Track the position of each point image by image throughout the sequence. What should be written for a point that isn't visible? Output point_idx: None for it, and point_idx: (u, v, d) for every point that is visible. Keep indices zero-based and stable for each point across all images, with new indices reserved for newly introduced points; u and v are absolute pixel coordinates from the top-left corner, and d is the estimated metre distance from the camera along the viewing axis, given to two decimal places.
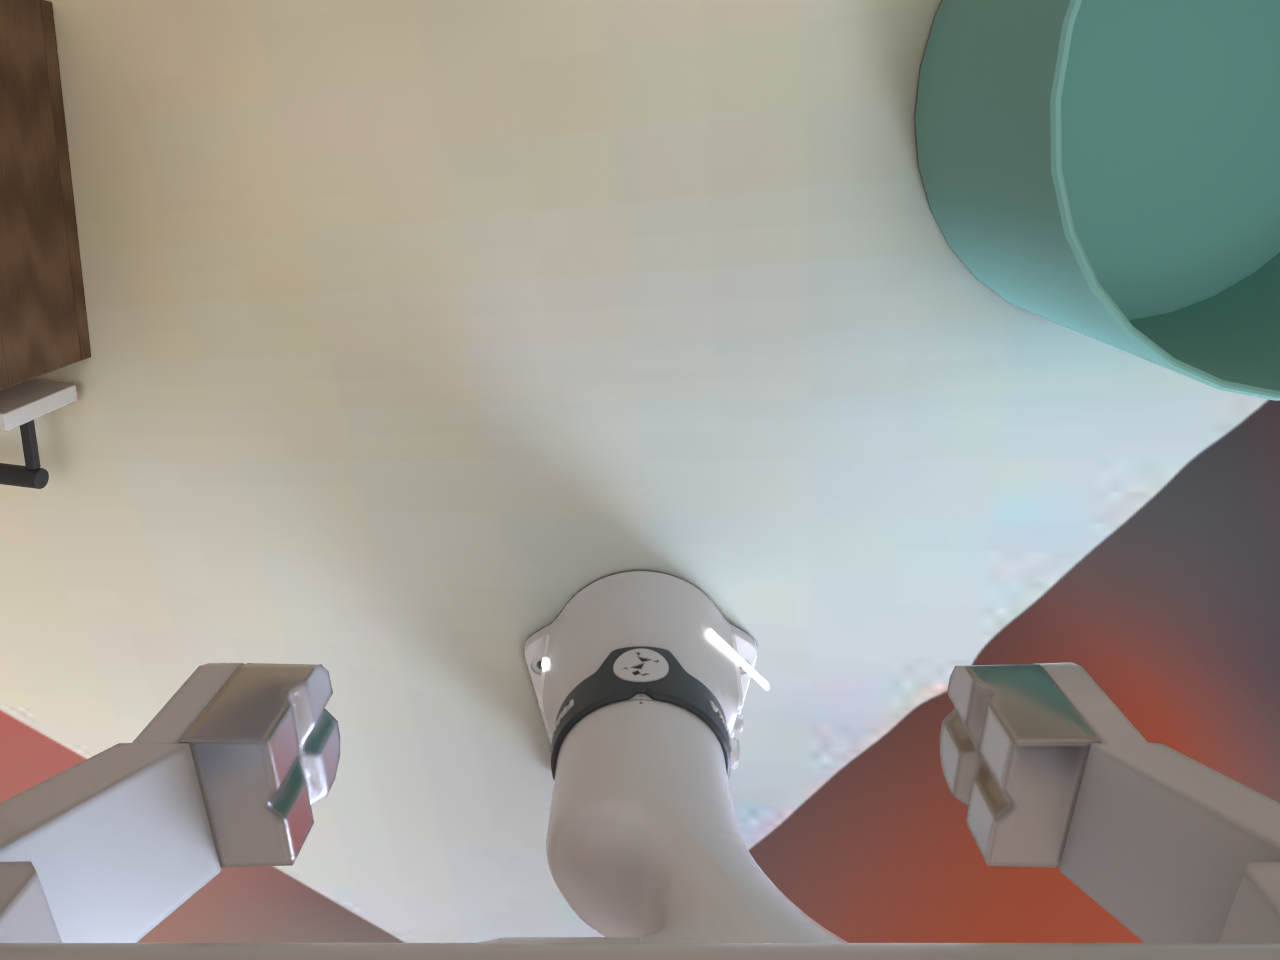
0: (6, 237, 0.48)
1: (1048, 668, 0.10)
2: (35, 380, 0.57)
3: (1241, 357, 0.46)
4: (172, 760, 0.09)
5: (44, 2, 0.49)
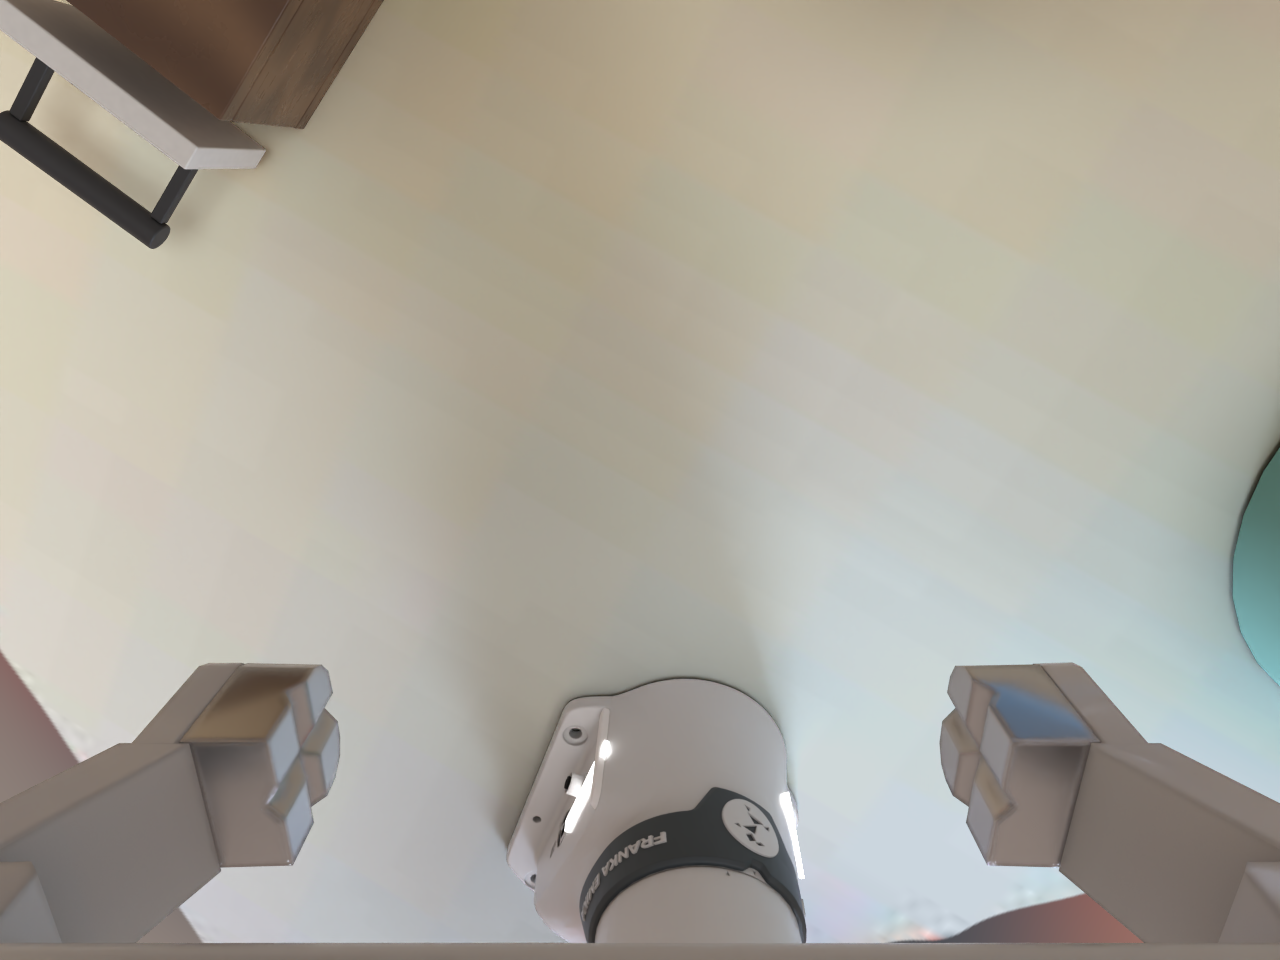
0: None
1: (1048, 667, 0.10)
2: None
3: None
4: (172, 760, 0.09)
5: None
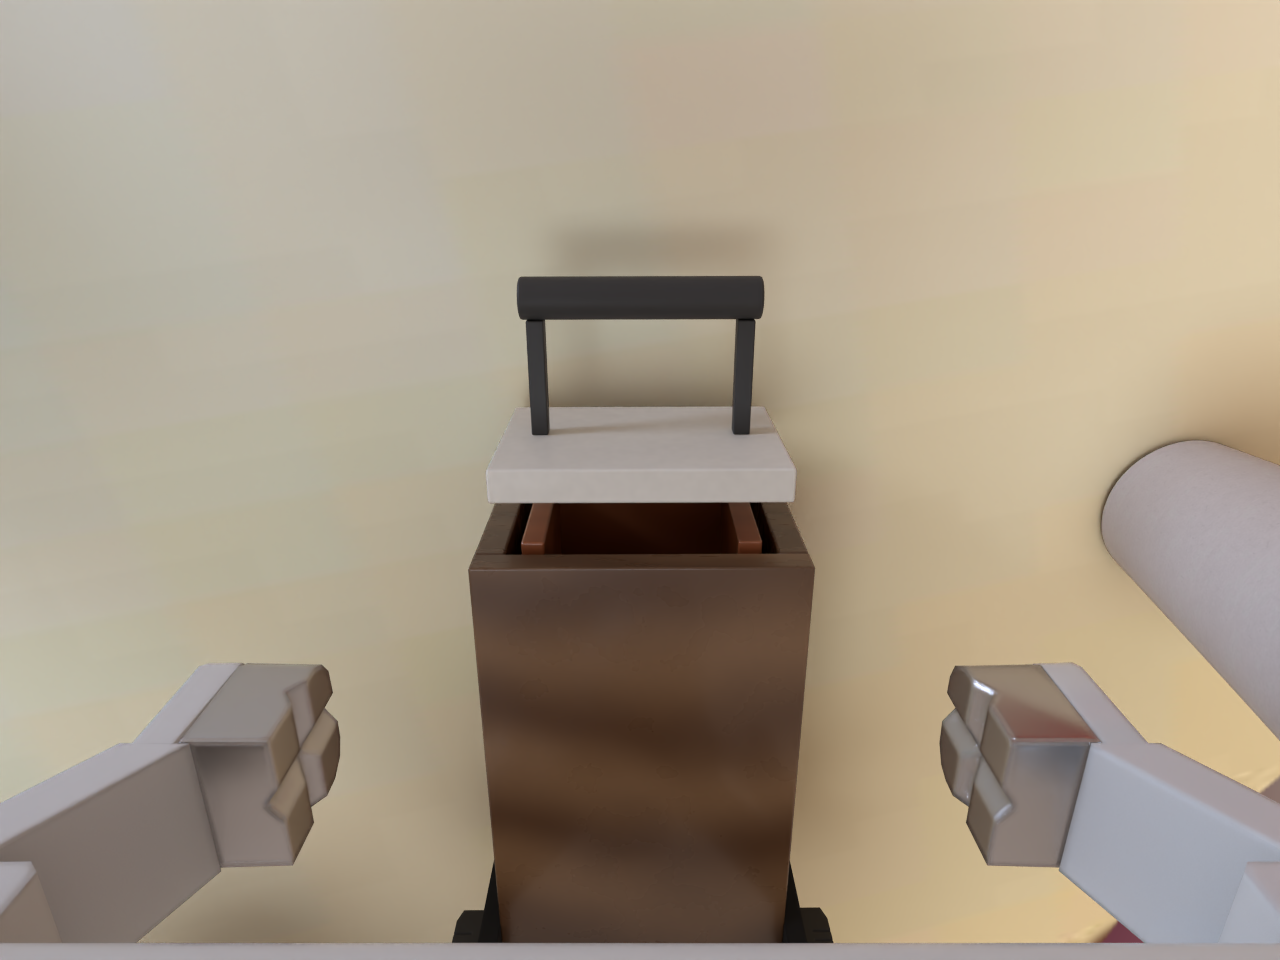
0: None
1: (1048, 668, 0.10)
2: None
3: None
4: (172, 760, 0.09)
5: None
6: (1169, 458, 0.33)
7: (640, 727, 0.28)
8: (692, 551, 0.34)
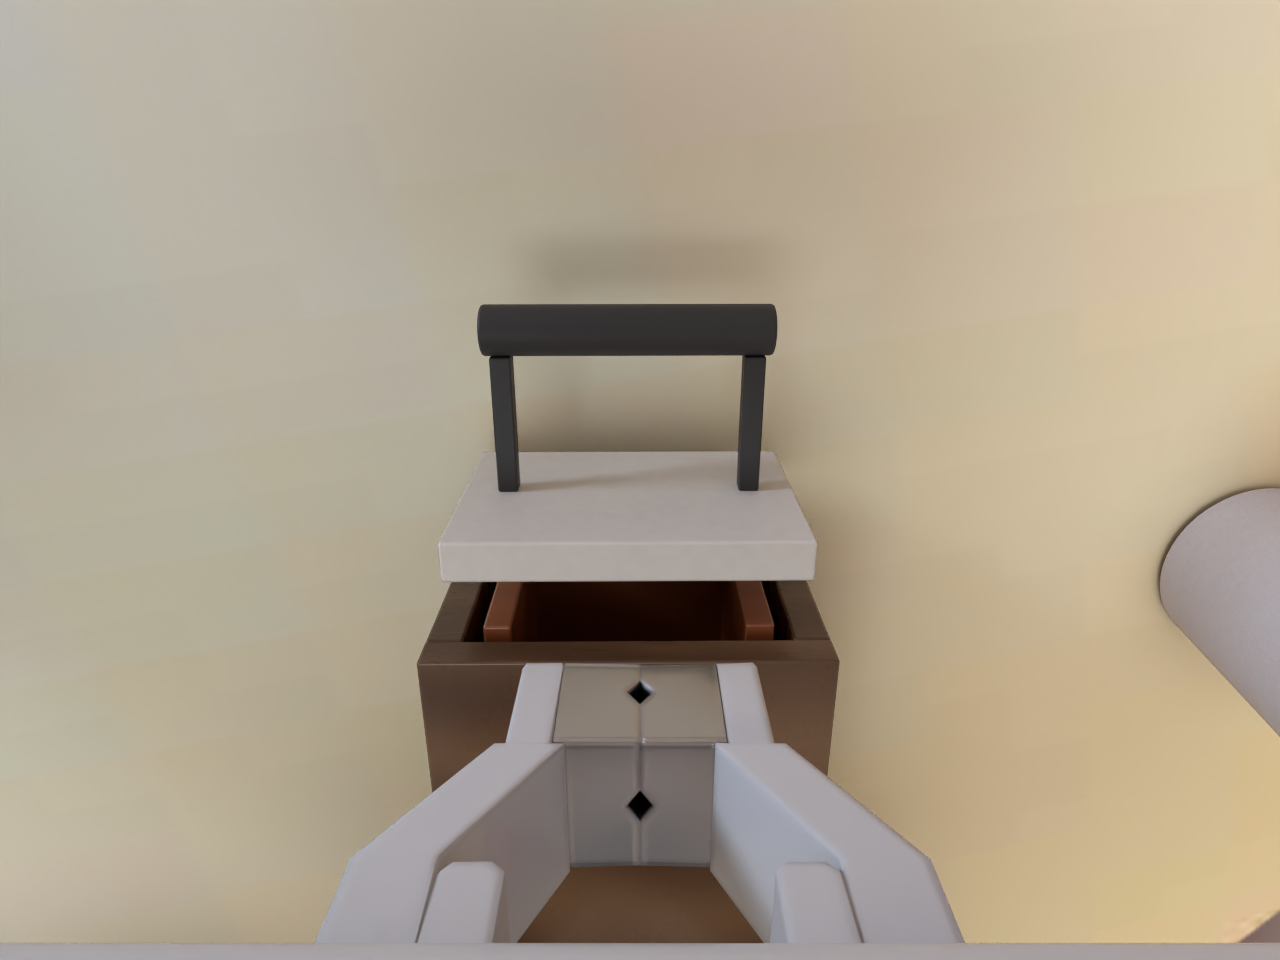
0: None
1: (722, 667, 0.10)
2: None
3: None
4: (553, 760, 0.09)
5: None
6: (1243, 510, 0.28)
7: None
8: (689, 618, 0.29)
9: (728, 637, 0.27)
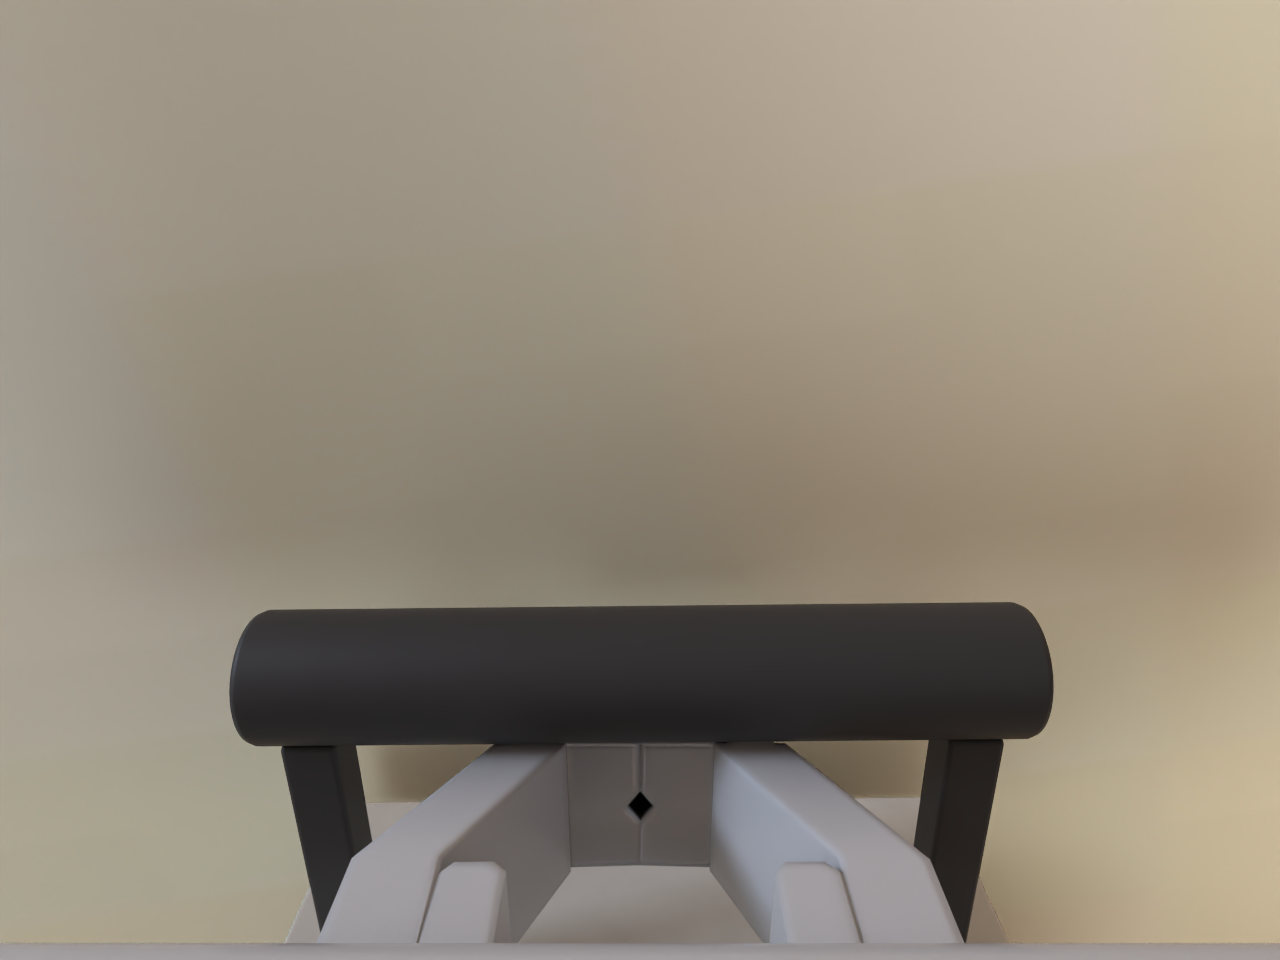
0: None
1: None
2: None
3: None
4: (554, 760, 0.09)
5: None
6: None
7: None
8: None
9: None
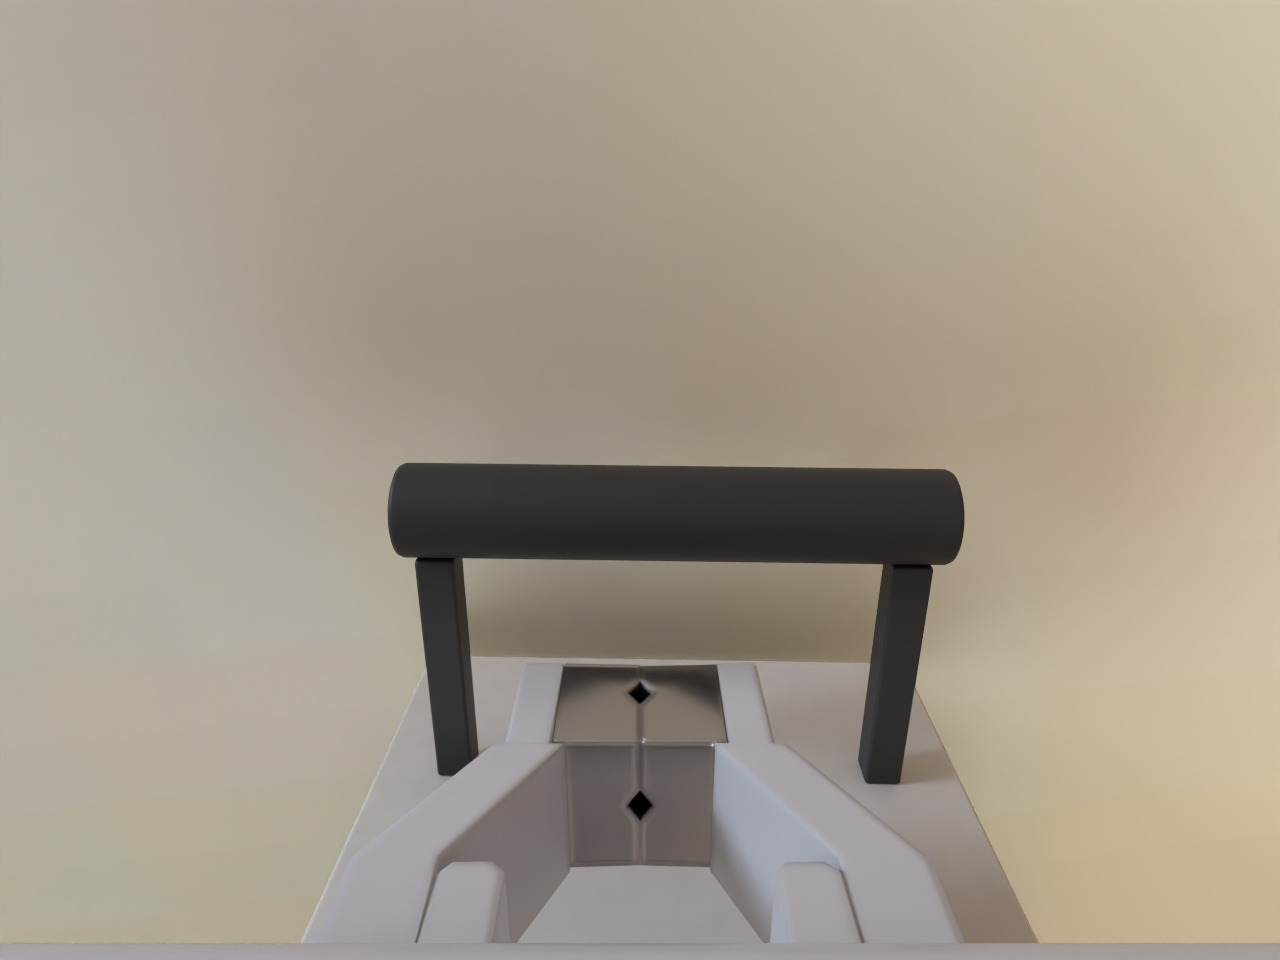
0: None
1: (722, 668, 0.10)
2: None
3: None
4: (553, 760, 0.09)
5: None
6: None
7: None
8: None
9: None
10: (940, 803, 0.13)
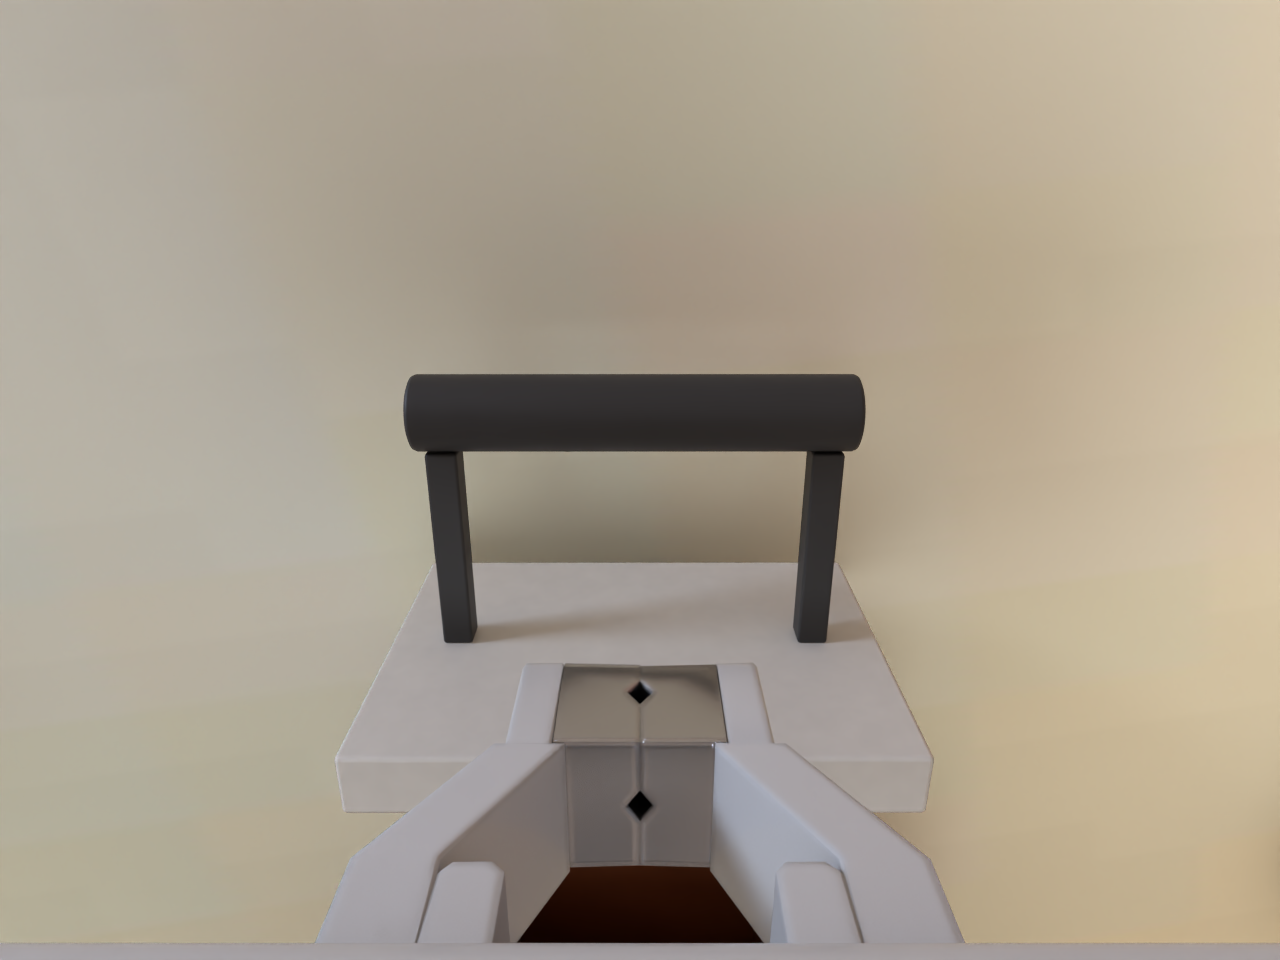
0: None
1: (722, 667, 0.10)
2: None
3: None
4: (553, 760, 0.09)
5: None
6: None
7: None
8: None
9: None
10: (858, 654, 0.16)
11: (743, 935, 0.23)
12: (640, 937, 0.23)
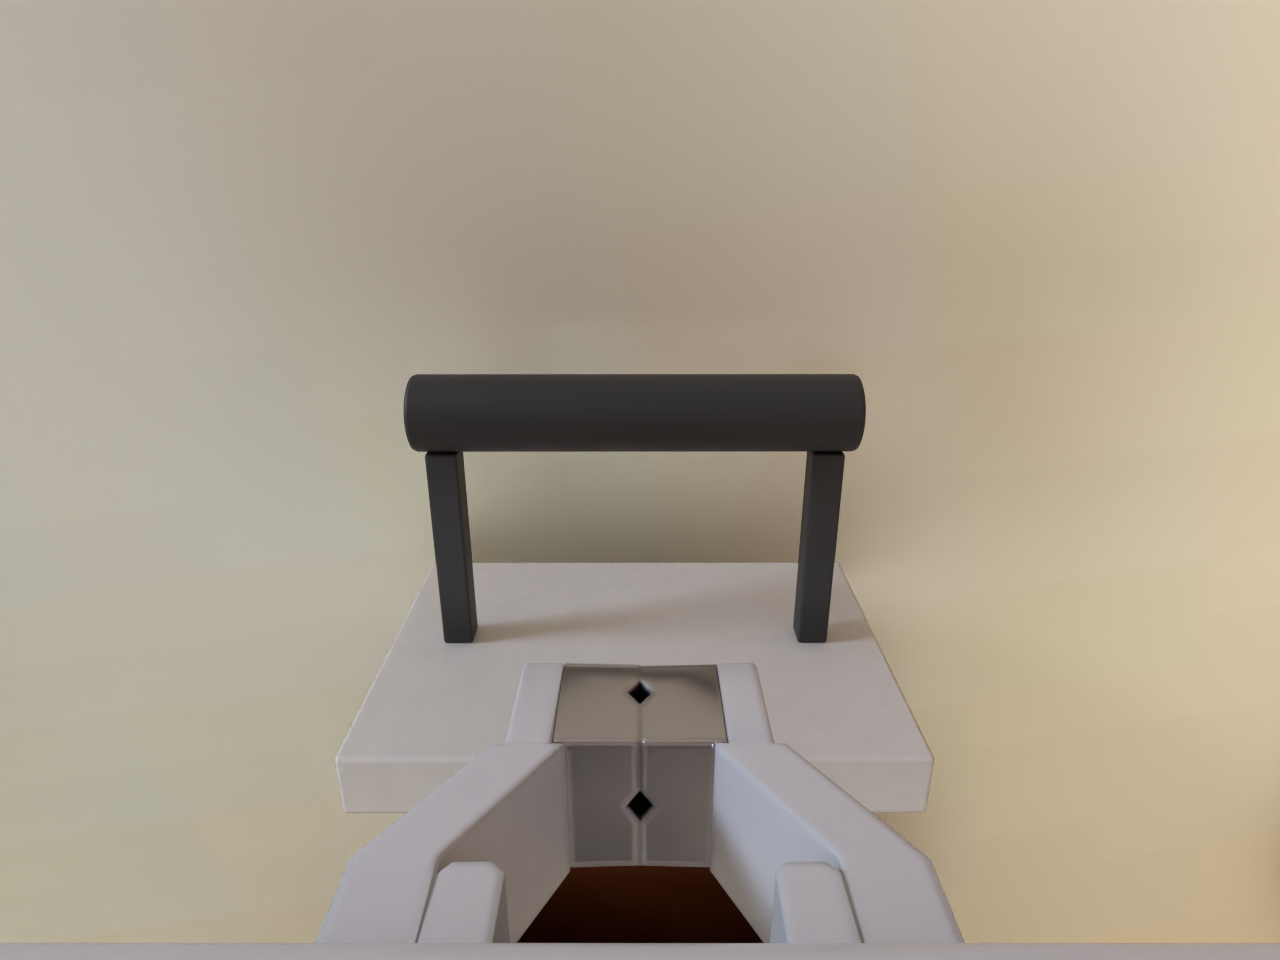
0: None
1: (722, 667, 0.10)
2: None
3: None
4: (553, 760, 0.09)
5: None
6: None
7: None
8: None
9: None
10: (858, 654, 0.16)
11: (743, 935, 0.23)
12: (640, 937, 0.23)
